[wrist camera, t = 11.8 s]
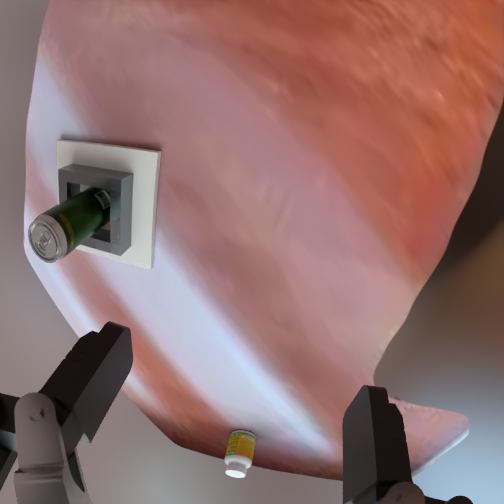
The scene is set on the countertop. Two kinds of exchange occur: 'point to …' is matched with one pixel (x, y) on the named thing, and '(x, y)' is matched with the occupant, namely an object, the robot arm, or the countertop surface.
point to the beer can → (69, 224)
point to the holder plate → (144, 191)
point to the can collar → (120, 203)
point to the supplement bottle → (239, 453)
